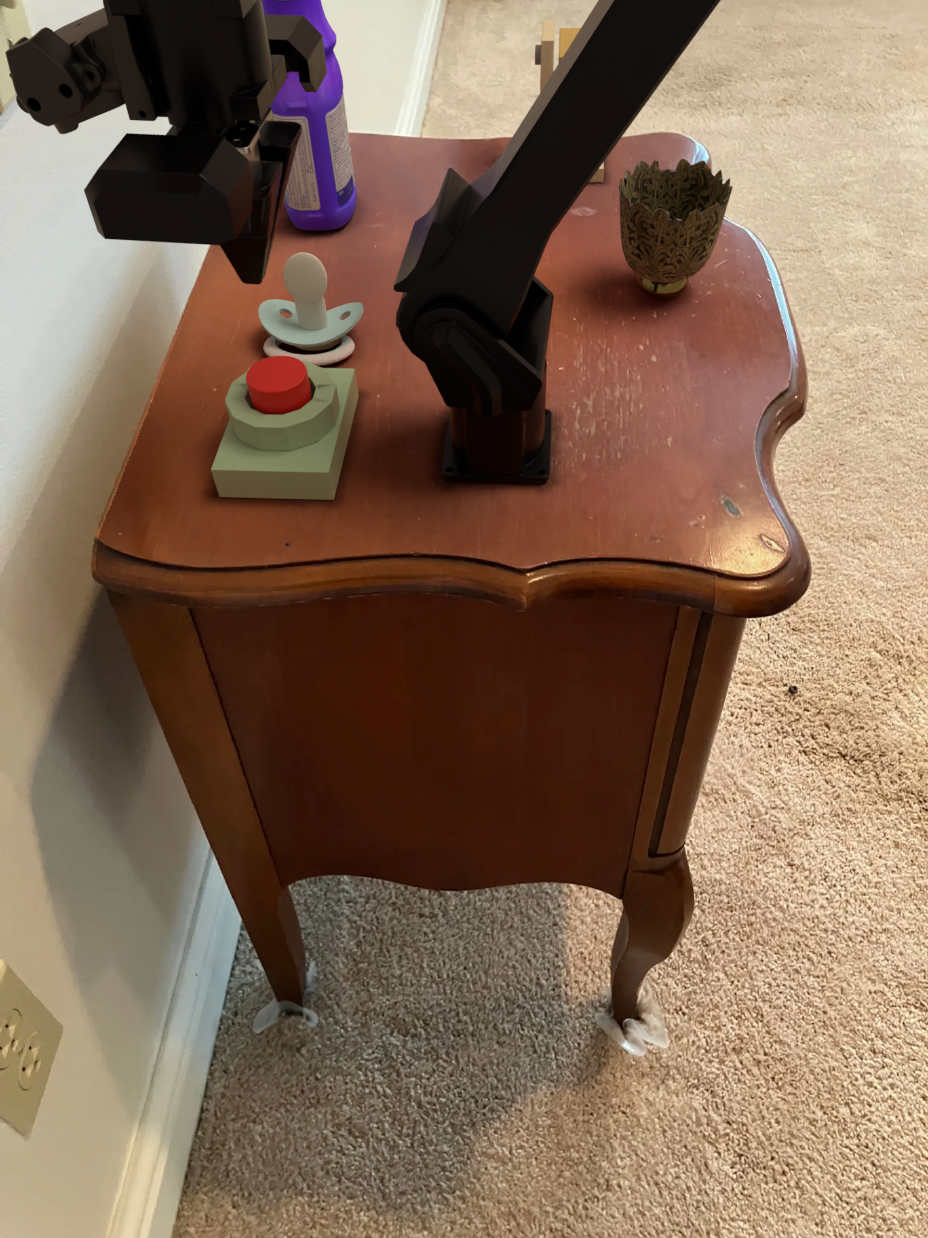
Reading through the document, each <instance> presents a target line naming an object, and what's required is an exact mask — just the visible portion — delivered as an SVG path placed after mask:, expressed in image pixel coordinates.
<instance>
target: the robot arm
mask: <svg viewBox="0 0 928 1238" xmlns="http://www.w3.org/2000/svg"><path fill="white" fill-rule="evenodd" d="M721 1H722V0H597V2H596V4H595V5H594V6H593V8H592V10H591V11H590V13H589V15H587V17H586V19H585V21H584V23H583V24H582V26H581V27H580V28H581V29H580V30H579V32H578V34H577V35H576V37H575V38H574V40H573V42H572V43H571V45H570V46H569V48H568V50H567V51H566V53H565V54H564V56H563V57H562V59H561V61H560V62H559V64H558V63H557V65H556V67H555V68H554V69H553V73H552V75H551V77H550V78H549V80H548V81H547V83H546V85H545V86H544V88H543V89H542V91H541V92H540V91H539V94H538V96H536V99H535V100H534V102H533V104H532V105H531V106H530V108H529V110H528V111H527V113H526V115H525V116H524V118H523V119H522V120H521V123H520V124H519V126H518V127H517V129H516V130H515V132H514V134H513V135H512V137H511V138H510V140H509V142H508V144H506V147H505V148H504V150H503V152H502V153H501V155H500V156H499V157H498V159H497V160H496V161H495V162H494V163H493V165H491V166H490V167H489V168H488V169H487V170H486V171H485V172H483V173H482V174H481V175H479V176H478V177H477V178H476V179H474V180H473V181H471V182H470V183H469V182H468V181H467V180H466V179H464V178H463V176H461V175H460V174H459V173H458V172H457V171H456V170H455V169H454V168H452V167H448V168H447V170H446V173H445V175H444V178H443V180H442V183H441V186H440V189H439V192H438V193H437V194H438V195H437V197H436V199H435V202H433V203H434V204H432V206H431V207H430V208H429V209H428V211H427V212H426V213H424V214H423V215H422V216H420V217H419V218H418V219H417V220H415V221H414V223H413V226H412V229H411V231H410V235H409V238H408V240H407V241H408V242H407V245H406V248H405V250H404V253H403V257H402V260H401V263H400V266H399V269H398V272H397V274H396V279H395V281H394V284H393V288H392V289H393V291H394V292H395V293H402V294H401V297H400V300H399V303H398V307H397V310H396V314H395V327H396V328H397V330H398V333H399V335H400V338H401V340H402V343H404V345H405V346H406V347H407V349H408V350H409V352H410V353H411V354H412V355H414V356H415V357H416V358H418V359H419V360H420V361H421V362H422V363H424V365H425V367H426V369H427V370H428V371H427V372H428V373H429V375H430V376H431V379H432V380H433V383H434V385H435V387H436V389H437V390H438V392H439V394H440V396H441V398H442V400H443V402H444V404H445V406H446V407H447V408H449V411H448V418H447V425H446V432H445V439H444V448H443V454H442V462H441V467H440V468H441V470H440V471H441V478H442V479H443V480H445V481H454V482H455V481H456V482H457V481H458V482H492V483H493V482H494V483H495V482H496V483H498V482H499V483H539V484H541V483H546V482H548V481H549V480H550V477H551V476H550V475H551V447H552V446H551V445H552V411H551V410H550V409H548V408H546V400H547V399H546V398H547V371H548V370H547V369H548V368H547V367H548V364H547V363H548V362H547V352H548V345H549V338H550V329H551V322H552V321H551V320H552V316H553V315H552V314H553V305H554V299H555V298H554V297H555V296H554V293H553V292H552V291H551V290H550V289H549V288H548V287H547V286H546V285H545V284H544V283H543V282H542V281H541V280H540V279H539V278H538V277H537V276H536V272H537V270H538V267H539V265H540V262H541V260H542V257H543V254H544V252H545V249H546V246H547V245H548V242H549V240H550V238H551V236H552V235H553V232H554V231H555V230H556V229H557V227H558V226H559V224H560V223H561V221H562V220H563V219H564V217H565V216H566V215H567V213H568V212H569V210H570V209H571V208H572V206H573V205H574V204H575V202H576V201H577V199H578V198H579V197H580V195H581V194H582V192H584V190H585V189H586V187H587V186H588V185H589V183H590V182H589V181H590V180H591V179H592V177H593V176H594V174H595V173H596V172H597V170H598V169H599V168H600V166H601V165H602V163H603V162H605V161H606V159H608V157H609V155H610V154H611V152H613V150H614V148H616V146H617V144H618V143H619V142H620V140H621V139H622V138H623V136H624V135H625V133H626V132H627V131H628V129H629V128H630V127H631V125H632V124H633V122H634V121H635V119H636V118H637V116H638V115H640V113H641V111H642V110H643V109H644V107H645V106H646V104H647V103H648V101H649V100H650V99H651V97H652V96H653V95H654V93H655V92H656V91H657V89H658V88H659V86H660V85H661V84H662V82H663V81H664V79H665V78H666V77H667V75H668V74H669V73H670V71H671V70H672V68H673V67H674V66H675V64H676V63H677V61H678V60H679V59H680V58H681V56H682V54H683V53H684V52H685V50H686V49H687V48H688V46H689V45H690V44H691V42H692V41H693V39H694V38H695V37H696V36H697V34H698V33H699V31H700V30H701V29H702V27H703V26H704V24H705V23H706V21H707V20H708V19H709V18H710V16H711V15H712V13H713V12H714V10H715V9H716V8H717V7H718V5H719V4H720V2H721ZM102 5H103V7H102V8H100V9H98V10H96V11H93V12H91V13H89V14H87V15H84V16H82V17H81V18H78V19H76V20H74V21H71V22H69V23H67V24H65V25H63V26H61V27H59V28H57V29H56V30H53V29H51V28H50V27H48V26H45V27H43V28H41V29H39V30H38V31H37V32H35V34H34V35H33V36H31V37H29V38H28V37H26V36H23V37H21V38H19V39H18V40H17V41H16V42H15V43H13V45H11V46H10V47H9V48H8V49H7V50H5V52H4V53H5V58H6V61H7V65H8V69H9V77H10V79H11V81H12V85H13V89H14V92H15V94H16V97H15V99H16V100H15V101H16V103H17V105H18V107H19V109H20V110H21V111H22V112H24V113H26V114H28V115H29V116H30V117H31V119H32V120H34V121H35V122H36V123H37V124H40V125H43V126H44V127H51V126H52V127H53V126H54V128H55V129H56V130H57V132H58V134H60V135H66V134H70V133H72V132H75V131H77V129H78V128H79V126H80V125H79V124H81V123H83V122H86V121H88V120H91V119H93V118H96V117H98V116H101V115H104V114H106V113H108V112H111V111H114V110H115V109H118V108H120V107H121V106H122V107H123V106H124V105H125V108H126V112H127V115H128V119H129V121H136V122H137V121H141V122H155V121H156V120H157V119H158V118H167V120H168V123H169V125H170V128H169V129H168V131H167V132H166V133H165V134H156V133H155V134H154V133H153V134H152V133H134V132H133V133H131V132H130V133H129V132H125V135H124V136H123V137H122V138H121V140H120V141H119V142H118V143H117V145H116V146H115V147H114V148H113V149H112V151H111V152H110V153H109V155H108V156H107V157H106V158H105V159H104V161H103V162H102V163H101V165H100V166H99V167H98V168H97V169H96V171H95V172H94V174H93V175H92V177H91V179H90V180H89V182H88V183H87V185H86V186H85V188H84V189H83V192H84V195H85V198H86V201H87V204H88V208H89V210H90V213H91V216H92V219H93V223H94V225H95V228H96V231H97V233H98V234H100V235H101V237H102V238H103V239H104V240H117V241H135V242H152V243H153V242H154V243H168V244H169V243H171V244H185V245H186V244H187V245H188V244H189V245H190V244H191V245H206V246H207V245H208V246H219V247H220V248H221V251H222V252H223V253H224V255H225V257H226V258H227V260H228V261H229V263H230V265H231V267H232V268H233V270H234V271H235V274H236V275H237V277H238V278H239V280H240V281H241V282H242V283H243V284H245V285H257V286H259V285H261V284H263V283H262V282H263V280H264V278H265V276H266V273H267V270H268V265H269V261H270V256H271V254H272V253H271V252H272V248H273V245H274V240H275V237H276V232H277V228H278V223H279V219H280V214H281V212H282V208H283V204H284V203H283V202H284V200H285V191H286V187H287V183H288V180H289V176H290V172H291V168H292V164H293V160H294V156H295V152H296V148H297V144H298V141H299V138H300V136H301V132H302V127H301V124H299V123H297V122H292V121H274V119H273V113H272V108H270V106H271V104H272V102H273V101H274V99H275V97H276V96H277V94H278V92H279V91H280V89H281V87H282V86H283V84H284V83H285V81H286V79H287V73H288V72H298V74H299V81H300V84H301V85H302V87H303V89H304V90H305V92H317V90H318V88H319V87H320V85H321V83H322V81H323V79H324V77H325V76H326V74H327V69H326V60H325V52H324V44H323V36H322V34H321V33H320V32H319V31H318V30H317V29H316V28H315V27H314V26H313V25H312V24H311V23H310V22H309V21H308V20H307V19H306V18H305V17H304V16H298V15H266V14H264V9H263V3H262V0H102Z"/></svg>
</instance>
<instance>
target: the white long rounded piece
mask: <svg viewBox="0 0 928 1238" xmlns="http://www.w3.org/2000/svg"><path fill="white" fill-rule="evenodd" d="M580 29H581V27H561V28H559V33H558V35H559V36H558V61H557V65H558V64H559V62H560V61H561V59H562V57H563V56H564V54H565V53H566V51H567V50H568V48H569V46H570V45H571V43H572V42H573V40H574V38H575V37H576V35H577V34H578V32H579V30H580Z"/></svg>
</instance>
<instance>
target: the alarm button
mask: <svg viewBox="0 0 928 1238" xmlns="http://www.w3.org/2000/svg"><path fill="white" fill-rule="evenodd" d="M249 367H250V368H249ZM249 367H248V368H249V370H248V369H247V370H248V372H247V371H246V372H247V374H246V382H247V386H248V390H249V394H250V398H251V401H252V404H253V406H254V408H255V409H256V410H258V411H259V412H261V413H263V414H271V415H283V414H286V413H289V412H293V411H296V410H299V409H301V408H302V407H303V406H305V405H306V404H307V403H308V402H309V400H310V398H311V388H310V383H309V378H308V373H307V369H306V366H305V365H304V363H303V362H302V361H300V360H299V359H297V358H294V357H290V356H272V357H269V356H267V357H264V358H261V359H260V360H258V361H256V362H255V363H253V364H252V365H251V366H249Z"/></svg>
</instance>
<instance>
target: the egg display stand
mask: <svg viewBox="0 0 928 1238" xmlns="http://www.w3.org/2000/svg"><path fill="white" fill-rule="evenodd" d="M541 22H542V23H541V36H540V37H541V38H540V44H535V46H534V65H535V66H540V76H539V77H540V81H539V93H540V92H541V91H542V89H543V88H544V86H545V85H546V83H547V81H548V80H549V78H550V77H551V75H552V73H553V72H554V63H555V62H554V61H555V58H554V57H555V35H556V34H555V32H556V31H555V30H556V29H555V27H556V20H555V19H543V20H542V21H541ZM604 162H605V161H604ZM604 162H603V163H602V165H601V166H600V168H599V169H598V170H597V172H596V173H595V174H594V176H593V177H592V179H591V180H590V181H589V183H604V173H605V172H604V171H605V167H604V166H605V163H604Z"/></svg>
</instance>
